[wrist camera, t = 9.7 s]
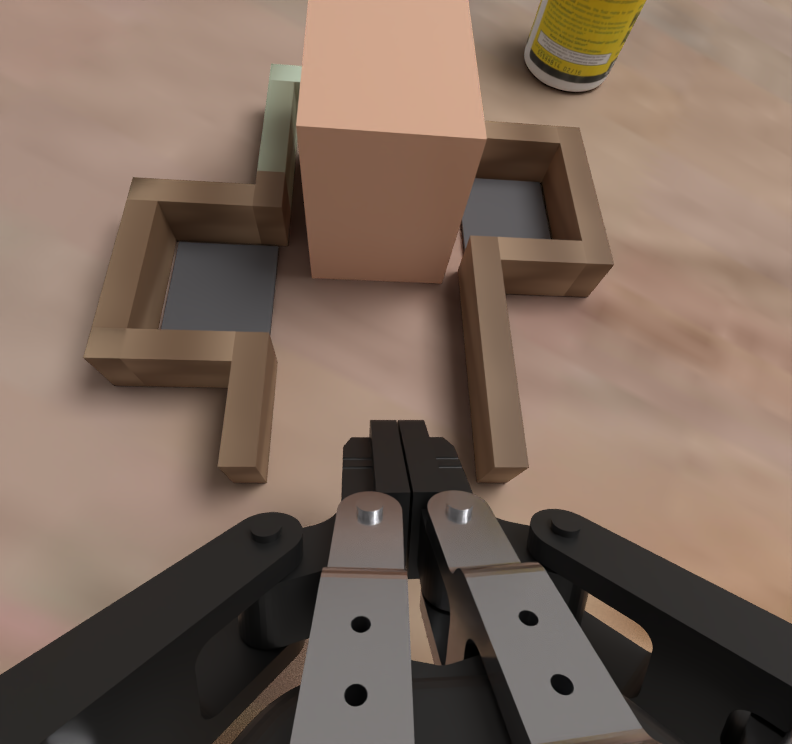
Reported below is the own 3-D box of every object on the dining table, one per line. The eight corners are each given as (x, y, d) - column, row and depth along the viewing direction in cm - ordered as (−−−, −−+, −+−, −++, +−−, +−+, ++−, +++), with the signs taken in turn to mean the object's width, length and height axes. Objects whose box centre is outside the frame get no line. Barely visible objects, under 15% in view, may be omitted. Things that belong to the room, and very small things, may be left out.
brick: (311, 278, 22) (296, 125, 15) (320, 152, 25) (310, -24, 18) (441, 284, 23) (487, 139, 15) (433, 159, 26) (467, -8, 19)
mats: (158, 354, 20) (156, 352, 20) (196, 164, 24) (195, 161, 24) (572, 364, 21) (574, 362, 21) (538, 184, 26) (539, 182, 26)
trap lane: (91, 482, 17) (53, 466, 15) (182, 102, 26) (166, 55, 24) (628, 482, 19) (665, 467, 17) (550, 129, 28) (569, 87, 26)
